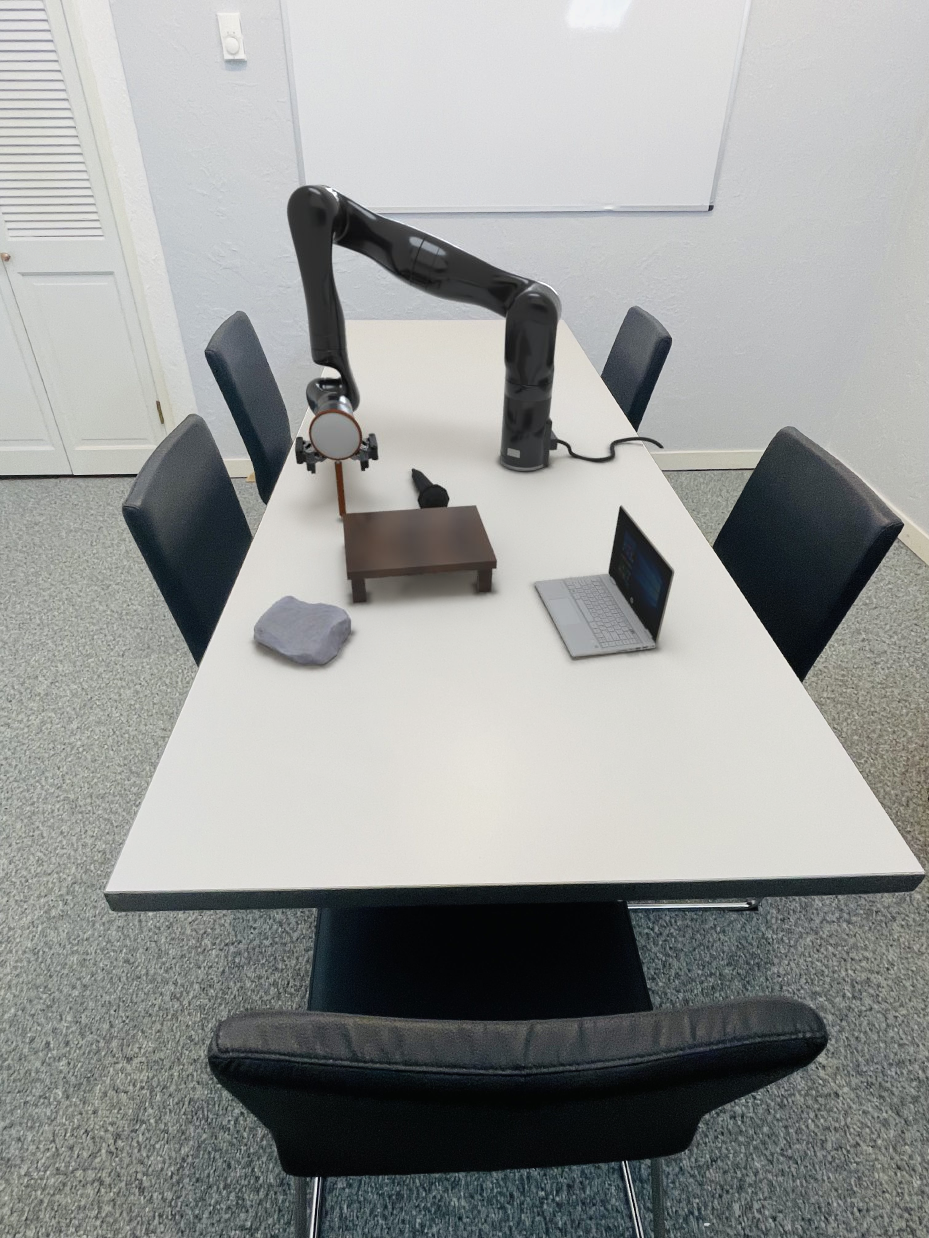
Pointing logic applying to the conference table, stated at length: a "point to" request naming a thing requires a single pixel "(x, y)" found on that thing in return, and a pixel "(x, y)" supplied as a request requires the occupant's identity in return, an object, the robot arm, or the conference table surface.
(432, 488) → the microphone
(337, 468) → the magnifying glass
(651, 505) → the conference table surface
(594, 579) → the laptop
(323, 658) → the stone block
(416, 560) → the walnut table
